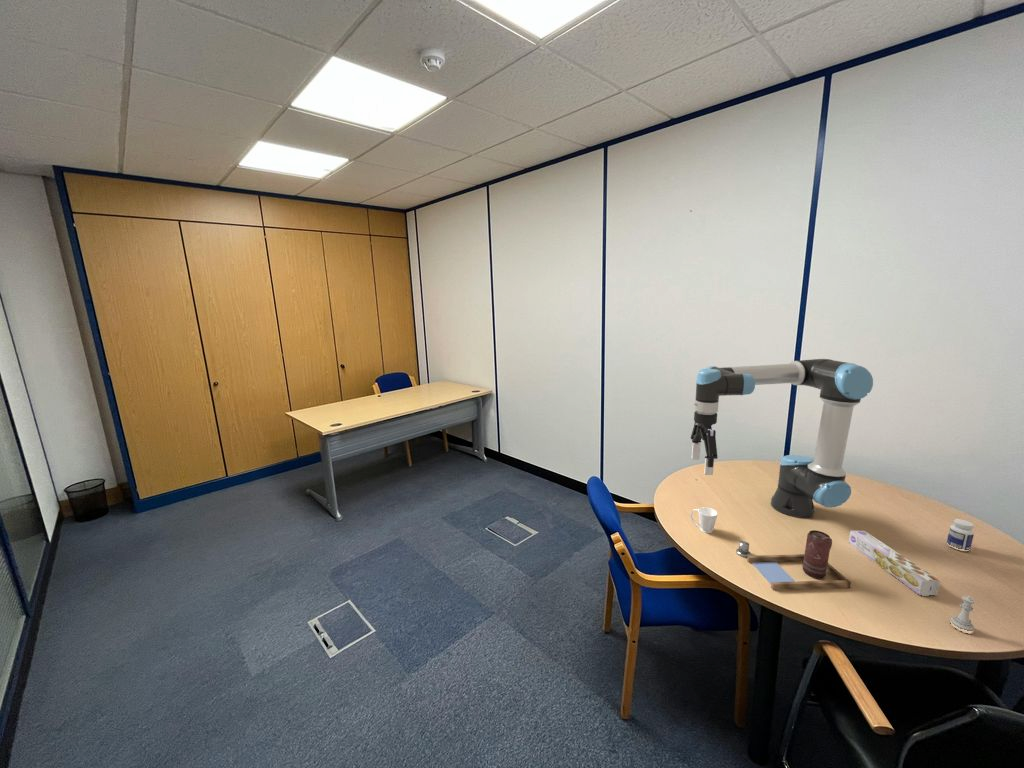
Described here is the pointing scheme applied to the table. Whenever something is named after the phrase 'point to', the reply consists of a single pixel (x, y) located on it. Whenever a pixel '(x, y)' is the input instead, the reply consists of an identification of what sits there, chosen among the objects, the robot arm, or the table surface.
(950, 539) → the pill bottle
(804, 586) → the frame
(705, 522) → the cup
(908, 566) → the box
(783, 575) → the front pad
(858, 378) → the robot arm
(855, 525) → the table surface
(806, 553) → the can
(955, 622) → the chess piece
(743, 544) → the grey metal knob
